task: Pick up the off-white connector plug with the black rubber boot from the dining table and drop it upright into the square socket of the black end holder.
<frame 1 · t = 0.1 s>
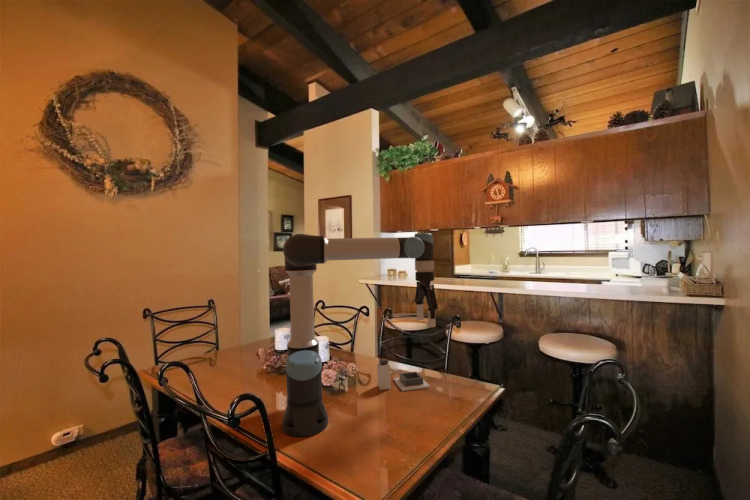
hand: (425, 323, 137), 28 cm above the table, tool pointing down, fingers open, 13 cm apart
connector plug: (384, 387, 142), on the table
end holder: (411, 383, 145), on the table
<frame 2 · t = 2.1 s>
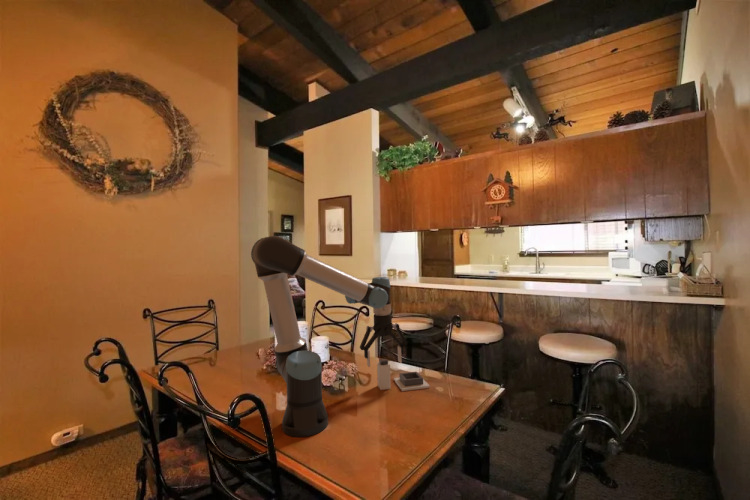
hand: (384, 363, 142), 10 cm above the table, tool pointing down, fingers open, 13 cm apart
nothing on the table moved.
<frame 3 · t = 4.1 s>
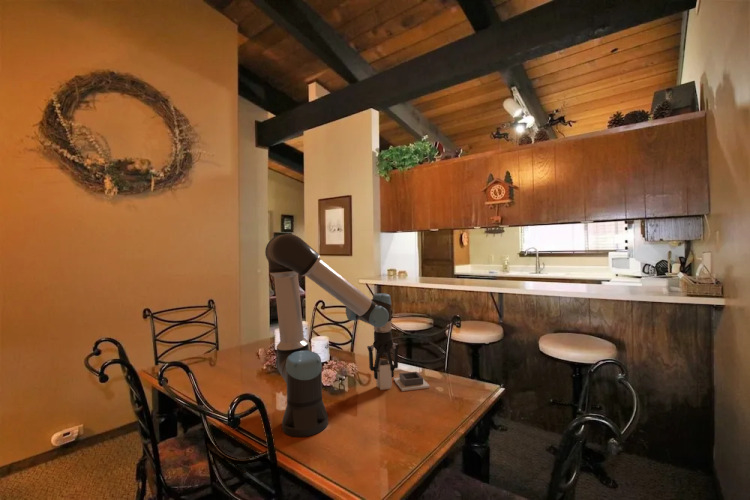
hand: (384, 385, 142), 1 cm above the table, tool pointing down, fingers closed on connector plug, 4 cm apart
connector plug: (384, 387, 142), on the table, touching gripper
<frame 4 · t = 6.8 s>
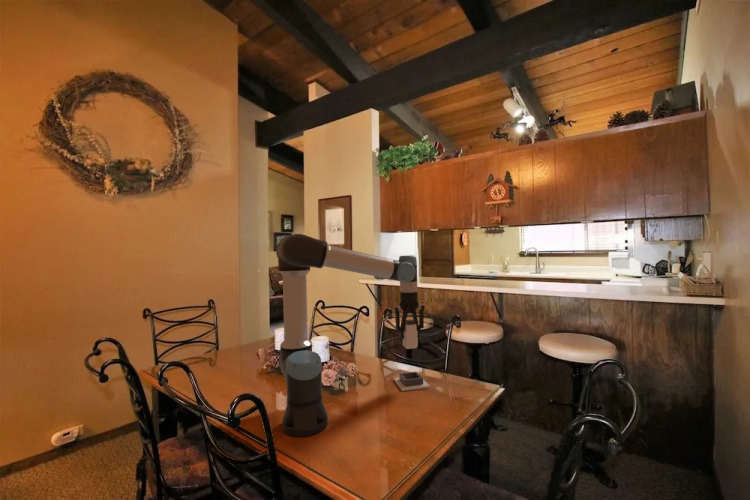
hand: (410, 345, 145), 17 cm above the table, tool pointing down, fingers closed on connector plug, 4 cm apart
connector plug: (410, 347, 145), point 16 cm above the table, touching gripper
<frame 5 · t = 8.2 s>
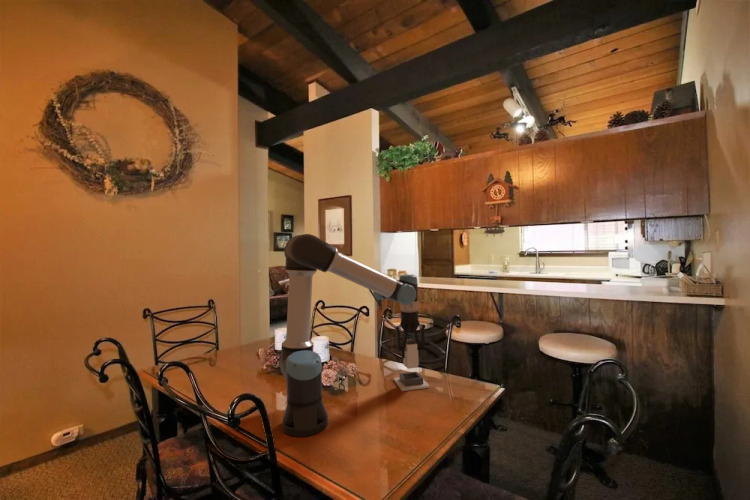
hand: (411, 364, 145), 8 cm above the table, tool pointing down, fingers closed on connector plug, 4 cm apart
connector plug: (411, 366, 145), point 8 cm above the table, touching gripper
when the fingers open (5 cm above the table, at t = 9.6 s): connector plug drops 3 cm, resting on end holder.
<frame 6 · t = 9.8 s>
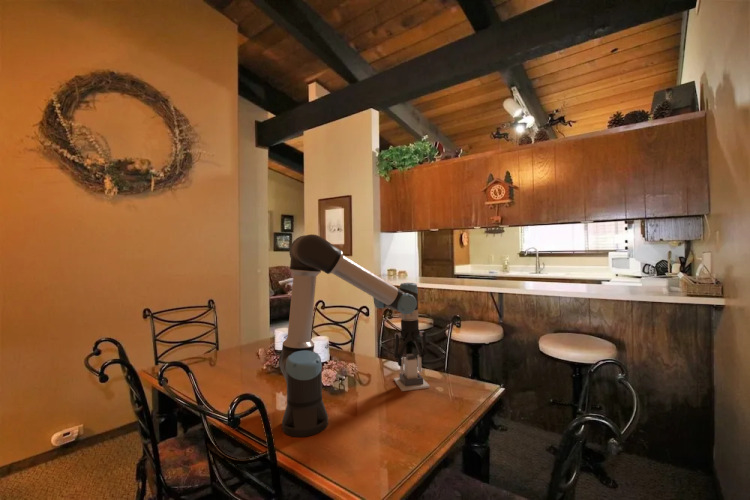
hand: (410, 372, 145), 5 cm above the table, tool pointing down, fingers open, 7 cm apart
connector plug: (411, 381, 145), point 1 cm above the table, touching end holder
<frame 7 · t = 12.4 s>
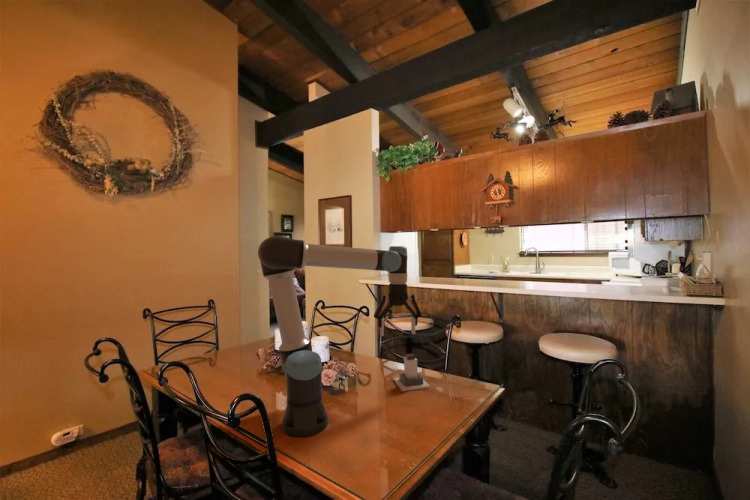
hand: (397, 334, 140), 23 cm above the table, tool pointing down, fingers open, 13 cm apart
nothing on the table moved.
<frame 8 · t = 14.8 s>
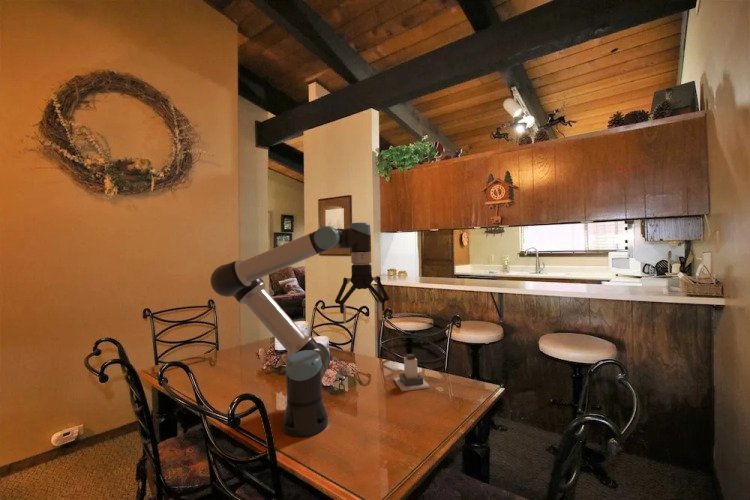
hand: (362, 320, 126), 32 cm above the table, tool pointing down, fingers open, 13 cm apart
nothing on the table moved.
at the end: connector plug 0.0 cm off-centre on the end holder, point 1.0 cm above the end holder's base; connector plug tilted 0°; the gripper is holding nothing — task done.
